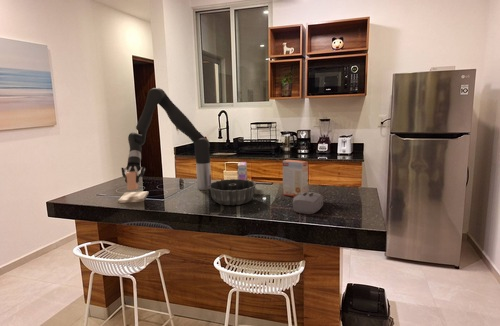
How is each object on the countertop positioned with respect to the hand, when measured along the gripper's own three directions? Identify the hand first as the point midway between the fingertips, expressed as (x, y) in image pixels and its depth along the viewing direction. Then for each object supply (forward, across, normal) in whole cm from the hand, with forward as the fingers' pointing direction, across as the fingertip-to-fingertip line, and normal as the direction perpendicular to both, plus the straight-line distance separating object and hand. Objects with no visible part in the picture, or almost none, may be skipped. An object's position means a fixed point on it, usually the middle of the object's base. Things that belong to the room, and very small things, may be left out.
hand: (131, 182), depth 188 cm
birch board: (+6, 0, +8) cm, 10 cm away
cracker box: (+18, +95, -4) cm, 97 cm away
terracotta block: (+2, 0, +4) cm, 5 cm away
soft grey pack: (+35, +95, -21) cm, 104 cm away
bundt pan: (+20, +58, -6) cm, 62 cm away
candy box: (-1, +67, +14) cm, 69 cm away
